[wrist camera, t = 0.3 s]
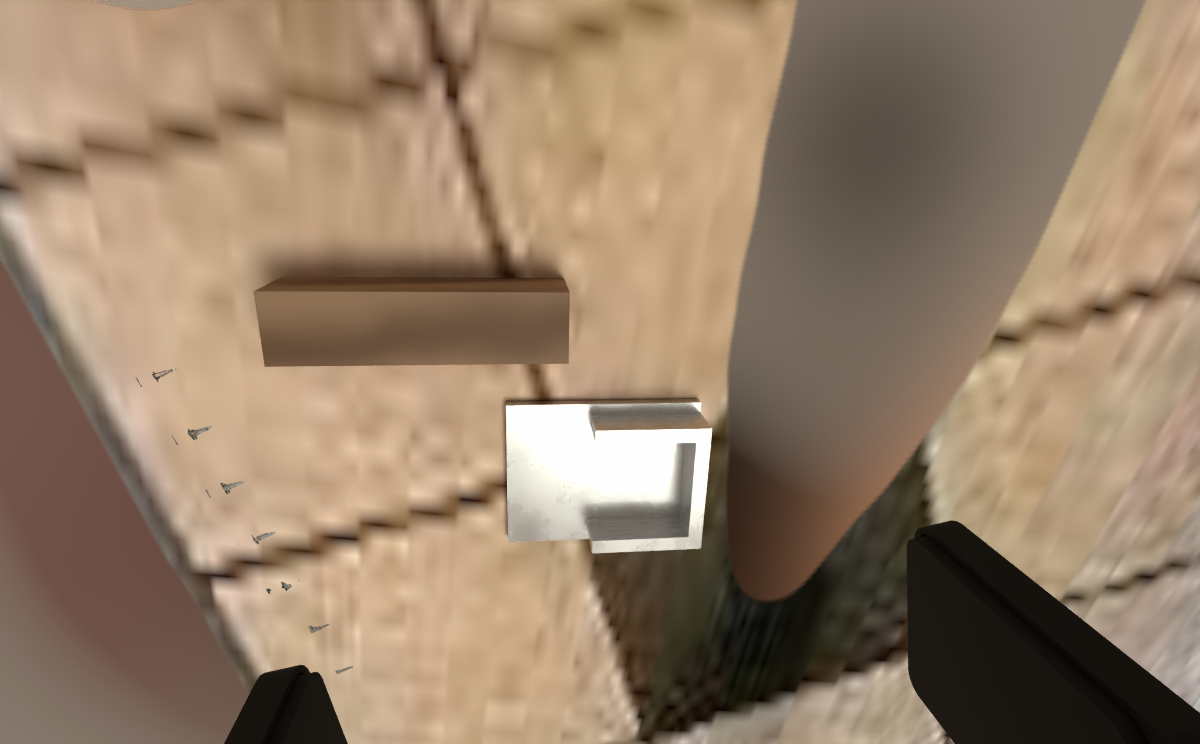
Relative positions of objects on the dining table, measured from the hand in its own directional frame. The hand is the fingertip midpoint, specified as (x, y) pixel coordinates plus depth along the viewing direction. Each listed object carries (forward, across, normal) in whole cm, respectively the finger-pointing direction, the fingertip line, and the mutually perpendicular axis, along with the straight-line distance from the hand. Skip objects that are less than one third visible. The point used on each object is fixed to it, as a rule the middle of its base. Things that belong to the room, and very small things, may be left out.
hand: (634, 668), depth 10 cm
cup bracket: (+35, -2, +14) cm, 38 cm away
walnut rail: (+35, +8, 0) cm, 36 cm away
